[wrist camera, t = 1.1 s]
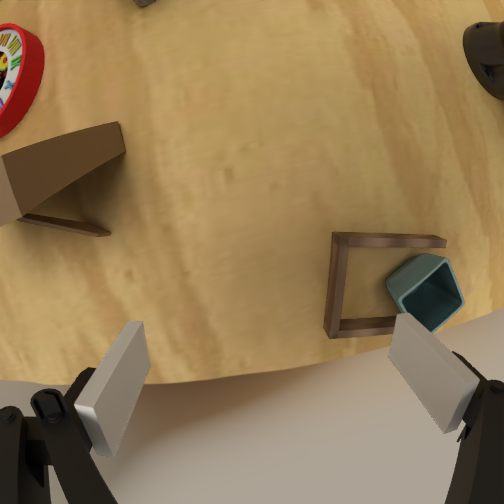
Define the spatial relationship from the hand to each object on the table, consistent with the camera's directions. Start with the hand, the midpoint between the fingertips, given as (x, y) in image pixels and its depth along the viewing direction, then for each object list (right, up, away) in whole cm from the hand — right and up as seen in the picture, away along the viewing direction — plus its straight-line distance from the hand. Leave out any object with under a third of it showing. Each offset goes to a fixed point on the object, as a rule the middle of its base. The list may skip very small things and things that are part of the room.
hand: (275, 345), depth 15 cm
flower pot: (+22, 0, +29) cm, 37 cm away
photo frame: (-28, +13, +24) cm, 39 cm away
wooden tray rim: (+18, 0, +29) cm, 34 cm away
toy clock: (-44, +33, +19) cm, 58 cm away
